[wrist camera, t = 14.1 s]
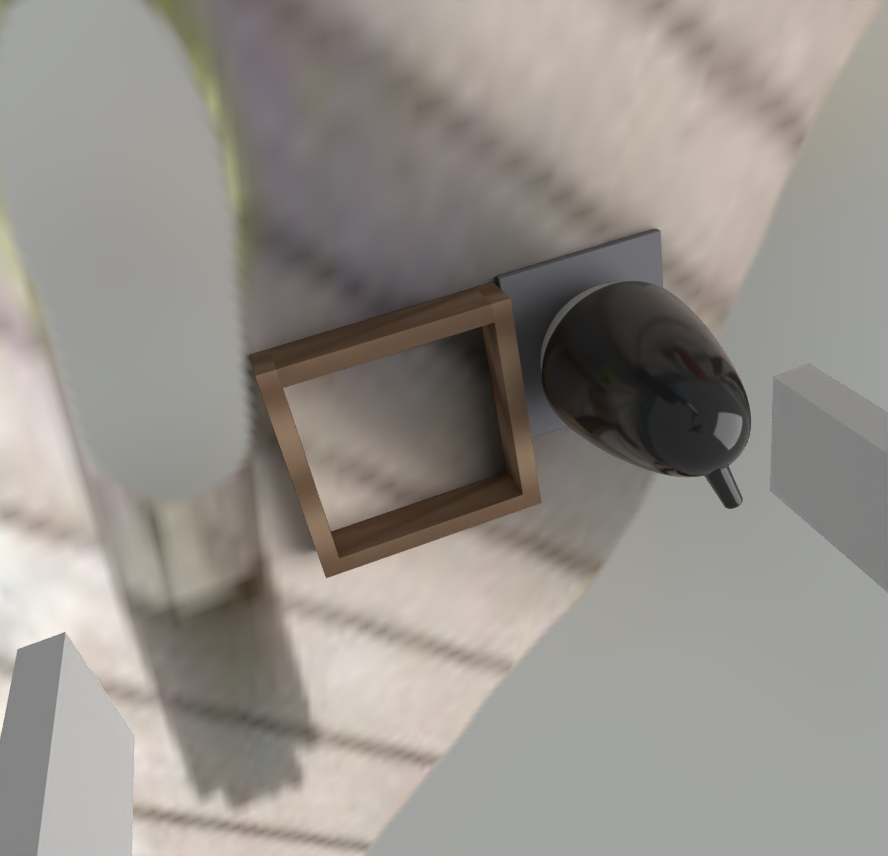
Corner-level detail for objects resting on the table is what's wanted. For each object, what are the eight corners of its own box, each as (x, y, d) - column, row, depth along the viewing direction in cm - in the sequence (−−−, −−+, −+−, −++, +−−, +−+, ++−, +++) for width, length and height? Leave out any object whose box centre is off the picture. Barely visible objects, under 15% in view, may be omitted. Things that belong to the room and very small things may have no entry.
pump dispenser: (553, 434, 57) (668, 567, 44) (494, 316, 51) (607, 430, 38) (678, 358, 57) (828, 469, 44) (633, 232, 51) (791, 317, 38)
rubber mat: (496, 276, 50) (499, 278, 50) (656, 228, 52) (660, 230, 52) (522, 436, 57) (524, 439, 56) (663, 389, 58) (667, 392, 58)
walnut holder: (249, 354, 48) (255, 375, 45) (492, 282, 50) (510, 298, 48) (318, 551, 56) (326, 578, 53) (524, 480, 58) (541, 502, 56)
